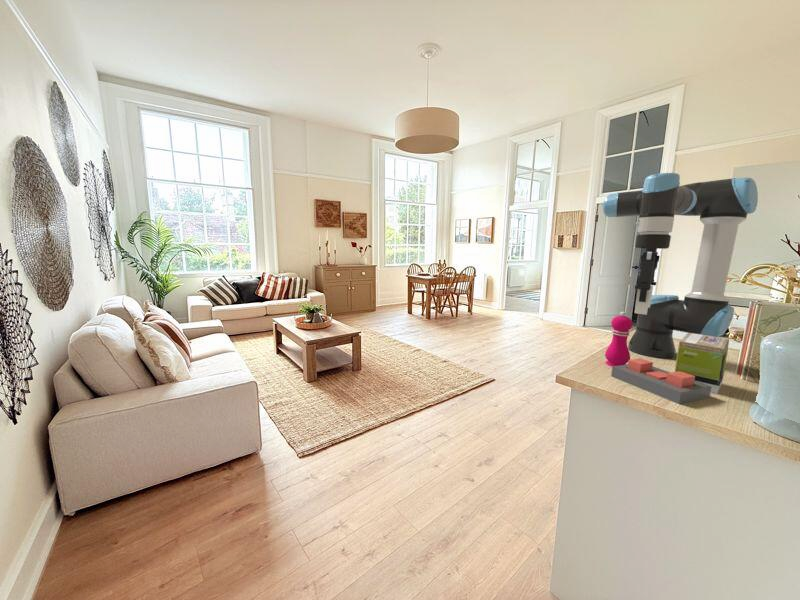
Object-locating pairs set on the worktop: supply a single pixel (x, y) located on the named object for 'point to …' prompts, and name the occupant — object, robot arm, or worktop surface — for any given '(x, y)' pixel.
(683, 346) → the tea box
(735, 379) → the worktop surface
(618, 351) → the pepper mill
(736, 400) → the worktop surface
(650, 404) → the worktop surface
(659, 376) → the button
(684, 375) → the button
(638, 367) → the button
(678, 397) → the power strip
